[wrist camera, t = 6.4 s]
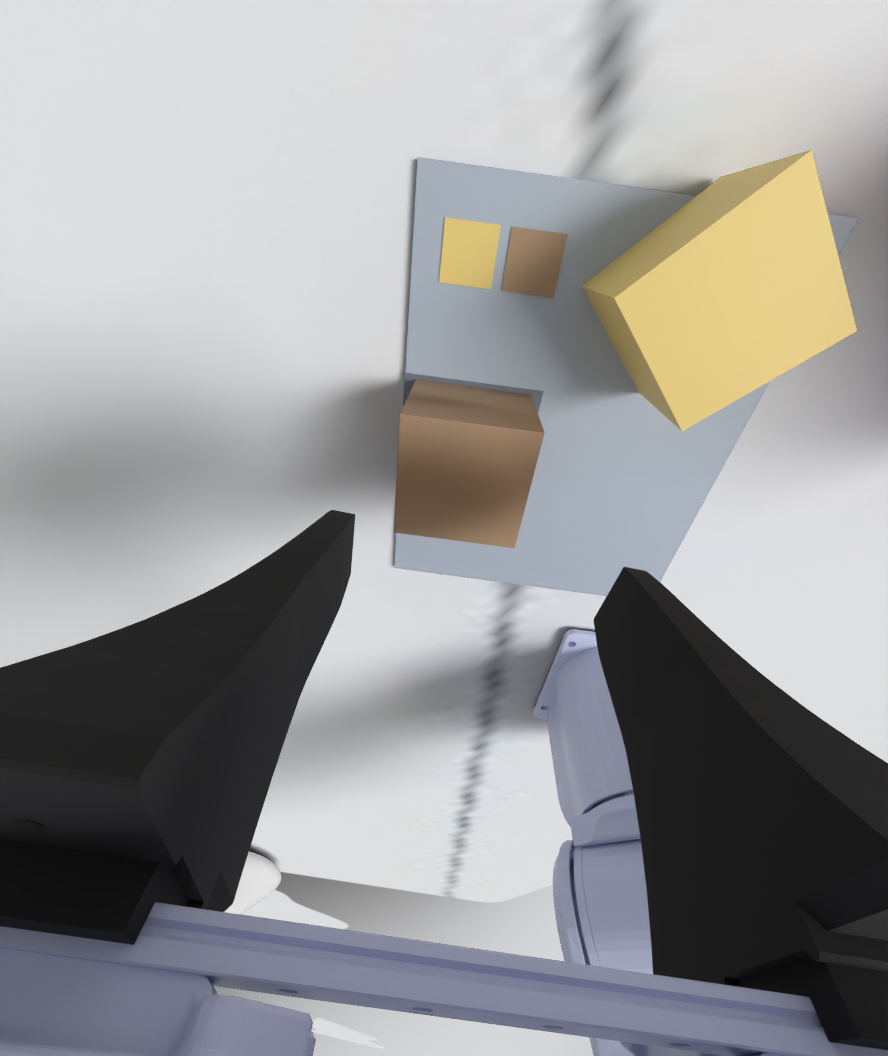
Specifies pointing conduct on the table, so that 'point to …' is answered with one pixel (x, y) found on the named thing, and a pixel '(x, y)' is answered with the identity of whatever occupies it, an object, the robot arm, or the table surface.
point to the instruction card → (556, 372)
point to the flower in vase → (255, 883)
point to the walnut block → (465, 463)
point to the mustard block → (727, 291)
